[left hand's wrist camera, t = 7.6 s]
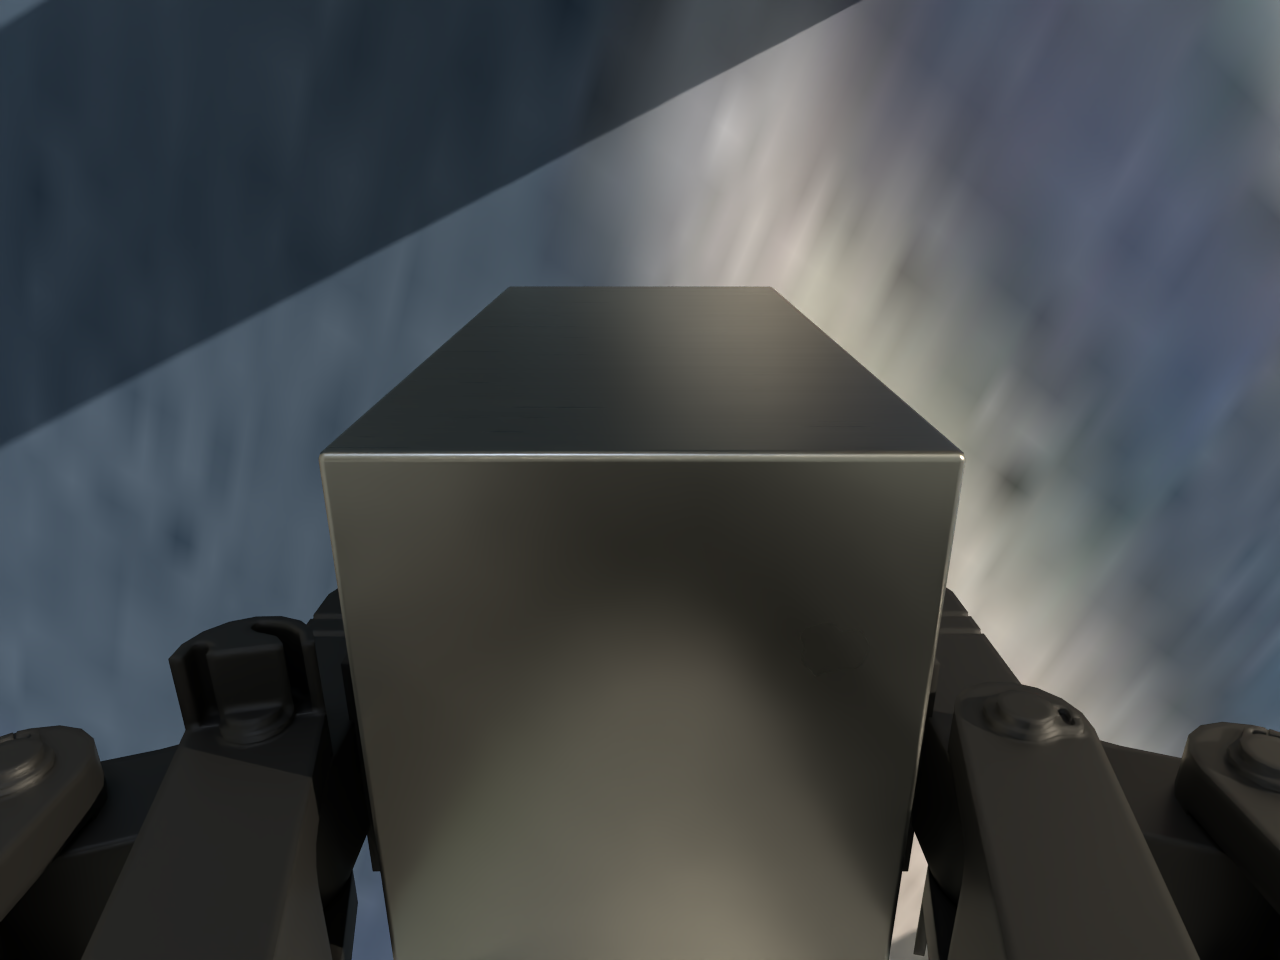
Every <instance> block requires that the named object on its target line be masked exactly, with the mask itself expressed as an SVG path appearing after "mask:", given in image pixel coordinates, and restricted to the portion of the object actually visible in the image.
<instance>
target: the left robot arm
mask: <svg viewBox="0 0 1280 960" xmlns="http://www.w3.org/2000/svg"><path fill="white" fill-rule="evenodd" d="M168 660H169V664H170V668H171V672H172V676H173V680H174V684H175V688H176V693H177V697H178V701H179V705H180V709H181V713H182V717H183V721H184V725H185V729H186V730H185V733H184V735H183V737H182V739H181V741H180V744H179V745H175V746H171V747H167V748H164V749H160V750H155V751H150V752H145V753H140V754H135V755H130V756H125V757H120V758H115V759H111V760H106V761H101V762H100V759H99V755H98V752H97V749H96V745H95V742H94V738H92V737H91V736H90V735H89V734H87V733H86V732H85V731H84V730H82V729H79V728H73V727H67V726H60V725H59V726H50V727H40V728H31V729H26V730H21V731H17V733H14V734H13V733H10V734H7V735H4V736H1V737H0V960H351V959H352V950H353V941H354V932H355V924H356V915H357V906H358V900H357V893H356V887H355V881H354V875H353V867H354V865H355V862H356V860H357V857H358V855H359V852H360V850H361V848H362V845H363V843H364V840H365V838H366V835H367V837H368V844H369V850H370V856H371V863H372V869H373V871H380V865H379V858H378V852H377V845H376V838H375V832H374V825H373V818H372V812H371V805H370V798H369V792H368V785H367V778H366V772H365V765H364V758H363V752H362V745H361V738H360V732H359V725H358V718H357V712H356V705H355V698H354V692H353V685H352V678H351V672H350V665H349V658H348V652H347V645H346V638H345V632H344V625H343V618H342V612H341V605H340V598H339V592H338V589H336V590H335V591H333V592H332V593H330V594H329V595H328V596H327V597H326V599H325V600H324V601H323V603H322V604H321V605H320V607H319V608H318V610H317V611H316V612H315V614H314V618H313V619H310V620H309V622H308V623H307V624H305V623H303V622H302V621H300V620H296V619H291V618H287V617H283V616H262V617H252V618H247V619H242V620H236V621H231V622H228V623H225V624H222V625H220V626H217V627H214V628H211V629H209V630H206V631H203V632H202V633H200V634H198V635H197V636H195V637H193V638H192V639H190V640H188V641H187V642H185V643H183V644H182V645H181V646H180V647H179V648H178V649H177V650H176V651H175V652H174V654H173V655H172V656H171V657H170V658H169V659H168ZM914 832H915V834H916V837H917V839H918V841H919V844H920V846H921V849H922V851H923V853H924V856H925V858H926V861H927V863H928V869H927V875H926V881H925V887H924V893H923V898H922V904H921V910H920V916H919V922H918V928H917V934H916V941H915V948H914V954H916V955H921V956H924V955H925V950H926V944H927V948H928V957H929V960H1280V732H1277V731H1274V730H1271V729H1269V730H1267V729H1265V728H1264V727H1259V726H1254V725H1246V724H1237V723H1228V722H1219V723H1212V724H1206V725H1200V726H1199V727H1198V728H1197V729H1195V730H1194V731H1193V732H1192V733H1190V734H1189V735H1188V739H1187V742H1186V746H1185V749H1184V752H1183V756H1182V758H1178V757H1173V756H1168V755H1163V754H1158V753H1153V752H1148V751H1143V750H1138V749H1133V748H1128V747H1123V746H1119V745H1115V744H1112V743H1108V742H1104V741H1100V740H1099V738H1098V736H1097V733H1096V731H1095V729H1094V728H1093V726H1092V725H1091V724H1090V723H1089V721H1088V720H1087V719H1086V717H1085V716H1084V715H1083V713H1082V712H1080V711H1079V710H1077V709H1076V708H1074V707H1073V706H1072V705H1070V704H1069V703H1067V702H1066V701H1065V700H1063V699H1062V698H1059V697H1057V696H1055V695H1052V694H1050V693H1048V692H1045V691H1043V690H1041V689H1038V688H1035V687H1031V686H1026V685H1022V684H1021V683H1020V682H1019V681H1018V679H1017V678H1016V676H1015V675H1014V674H1013V672H1012V671H1011V670H1010V668H1009V667H1008V666H1007V664H1006V663H1005V662H1004V660H1003V659H1002V658H1001V656H1000V655H999V654H998V652H997V651H996V650H995V648H994V647H993V645H992V644H991V643H990V641H989V640H988V639H987V637H986V636H985V635H984V634H981V632H980V628H979V627H978V625H977V624H976V623H975V621H974V620H973V619H972V617H971V616H968V612H967V610H966V609H965V608H964V606H963V605H962V604H961V602H960V601H959V600H958V598H957V597H956V596H955V594H954V593H953V592H952V591H951V590H949V589H948V588H946V589H945V596H944V602H943V609H942V615H941V622H940V628H939V635H938V641H937V648H936V654H935V661H934V667H933V674H932V680H931V687H930V693H929V700H928V706H927V713H926V719H925V726H924V732H923V739H922V745H921V752H920V758H919V765H918V771H917V778H916V784H915V791H914V797H913V804H912V810H911V817H910V823H909V830H908V836H907V843H906V849H905V856H904V862H903V869H902V871H908V868H909V862H910V855H911V849H912V843H913V836H914Z"/></svg>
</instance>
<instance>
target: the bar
mask: <svg viewBox="0 0 1280 960" xmlns="http://www.w3.org/2000/svg"><path fill="white" fill-rule="evenodd" d="M319 465H320V472H321V478H322V485H323V492H324V498H325V505H326V512H327V518H328V525H329V532H330V538H331V545H332V552H333V558H334V565H335V572H336V578H337V585H338V592H339V598H340V605H341V612H342V618H343V625H344V632H345V638H346V645H347V652H348V658H349V665H350V672H351V678H352V685H353V692H354V698H355V705H356V712H357V718H358V725H359V732H360V738H361V745H362V752H363V758H364V765H365V772H366V778H367V785H368V792H369V798H370V805H371V812H372V818H373V825H374V832H375V838H376V845H377V852H378V858H379V865H380V872H381V878H382V885H383V892H384V898H385V905H386V912H387V918H388V925H389V932H390V938H391V945H392V952H393V958H394V960H889V953H890V947H891V940H892V934H893V927H894V921H895V914H896V908H897V901H898V895H899V888H900V882H901V875H902V869H903V862H904V856H905V849H906V843H907V836H908V830H909V823H910V817H911V810H912V804H913V797H914V791H915V784H916V778H917V771H918V765H919V758H920V752H921V745H922V739H923V732H924V726H925V719H926V713H927V706H928V700H929V693H930V687H931V680H932V674H933V667H934V661H935V654H936V648H937V641H938V635H939V628H940V622H941V615H942V609H943V602H944V596H945V589H946V583H947V576H948V570H949V563H950V557H951V550H952V544H953V537H954V531H955V524H956V518H957V511H958V505H959V498H960V492H961V485H962V479H963V472H964V466H965V456H964V453H963V452H962V451H961V450H960V449H959V448H957V447H956V446H955V445H954V444H953V443H952V442H950V441H949V440H948V439H947V438H946V437H945V436H943V435H942V434H941V433H940V432H939V431H938V430H937V429H935V428H934V427H933V426H932V425H931V424H930V423H928V422H927V421H926V420H925V419H924V418H923V417H922V416H920V415H919V414H918V413H917V412H916V411H915V410H913V409H912V408H911V407H910V406H909V405H908V404H906V403H905V402H904V401H903V400H902V399H901V398H900V397H898V396H897V395H896V394H895V393H894V392H893V391H891V390H890V389H889V388H888V387H887V386H886V385H884V384H883V383H882V382H881V381H880V380H879V379H878V378H876V377H875V376H874V375H873V374H872V373H871V372H869V371H868V370H867V369H866V368H865V367H864V366H862V365H861V364H860V363H859V362H858V361H857V360H856V359H854V358H853V357H852V356H851V355H850V354H849V353H847V352H846V351H845V350H844V349H843V348H842V347H840V346H839V345H838V344H837V343H836V342H835V341H834V340H832V339H831V338H830V337H829V336H828V335H827V334H825V333H824V332H823V331H822V330H821V329H820V328H819V327H817V326H816V325H815V324H814V323H813V322H812V321H810V320H809V319H808V318H807V317H806V316H805V315H803V314H802V313H801V312H800V311H799V310H798V309H797V308H795V307H794V306H793V305H792V304H791V303H790V302H788V301H787V300H786V299H785V298H784V297H783V296H781V295H780V294H779V293H778V292H777V291H776V290H775V289H773V288H772V287H508V288H507V289H506V290H505V291H504V292H503V293H501V294H500V295H499V296H498V297H497V298H496V299H495V300H493V301H492V302H491V303H490V304H489V305H488V306H487V307H485V308H484V309H483V310H482V311H481V312H480V313H479V314H477V315H476V316H475V317H474V318H473V319H472V320H471V321H470V322H468V323H467V324H466V325H465V326H464V327H463V328H462V329H460V330H459V331H458V332H457V333H456V334H455V335H454V336H452V337H451V338H450V339H449V340H448V341H447V342H446V343H445V344H443V345H442V346H441V347H440V348H439V349H438V350H437V351H435V352H434V353H433V354H432V355H431V356H430V357H429V358H427V359H426V360H425V361H424V362H423V363H422V364H421V365H419V366H418V367H417V368H416V369H415V370H414V371H413V372H412V373H410V374H409V375H408V376H407V377H406V378H405V379H404V380H402V381H401V382H400V383H399V384H398V385H397V386H396V387H394V388H393V389H392V390H391V391H390V392H389V393H388V394H387V395H385V396H384V397H383V398H382V399H381V400H380V401H379V402H377V403H376V404H375V405H374V406H373V407H372V408H371V409H369V410H368V411H367V412H366V413H365V414H364V415H363V416H361V417H360V418H359V419H358V420H357V421H356V422H355V423H354V424H352V425H351V426H350V427H349V428H348V429H347V430H346V431H344V432H343V433H342V434H341V435H340V436H339V437H338V438H336V439H335V440H334V441H333V442H332V443H331V444H330V445H329V446H327V447H326V448H325V449H324V450H323V451H322V452H321V453H320V456H319Z"/></svg>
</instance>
